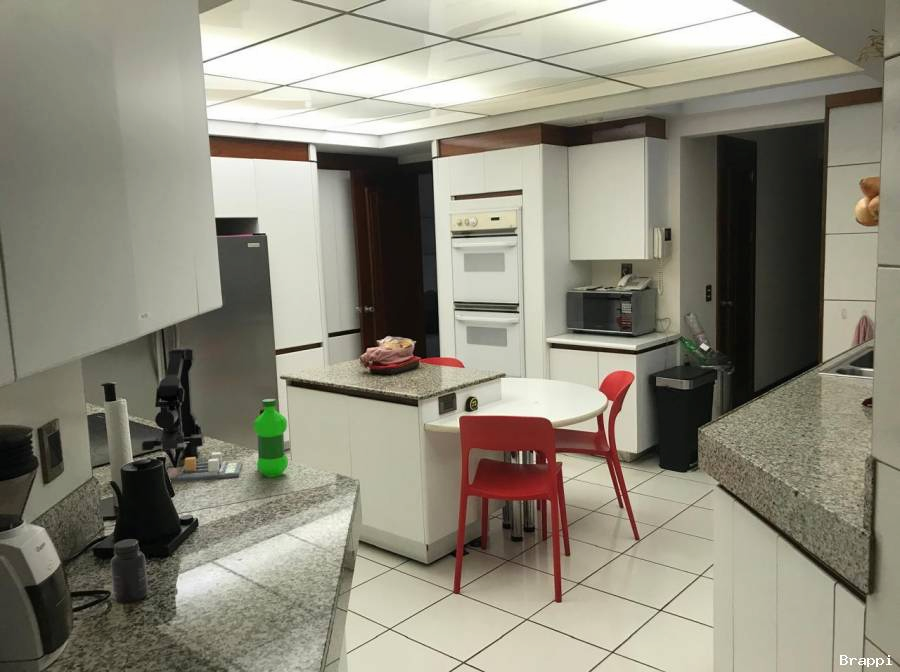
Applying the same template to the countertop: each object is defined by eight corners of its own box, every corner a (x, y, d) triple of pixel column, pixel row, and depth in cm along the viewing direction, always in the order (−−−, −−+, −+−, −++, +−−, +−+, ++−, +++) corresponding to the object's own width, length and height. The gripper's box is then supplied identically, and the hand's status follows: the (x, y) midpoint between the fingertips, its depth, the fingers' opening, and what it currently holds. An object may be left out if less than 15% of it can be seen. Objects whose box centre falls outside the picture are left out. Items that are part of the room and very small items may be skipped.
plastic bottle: (265, 481, 231) (260, 405, 228) (252, 474, 239) (248, 400, 236) (294, 475, 237) (290, 400, 234) (281, 468, 245) (277, 395, 242)
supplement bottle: (138, 586, 160) (134, 534, 158) (154, 594, 156) (150, 541, 154) (107, 598, 155) (102, 544, 153) (123, 607, 150) (118, 552, 149)
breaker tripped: (186, 469, 241) (186, 457, 240) (196, 469, 241) (195, 456, 241) (185, 472, 238) (184, 460, 238) (195, 471, 239) (194, 459, 238)
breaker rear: (213, 464, 246) (212, 452, 246) (222, 463, 247) (221, 451, 246) (212, 466, 243) (211, 454, 243) (221, 466, 244) (220, 454, 243)
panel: (169, 471, 244) (168, 465, 244) (242, 465, 249) (242, 459, 249) (161, 483, 232) (161, 476, 232) (238, 476, 237) (238, 470, 236)
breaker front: (209, 471, 238) (209, 459, 238) (219, 470, 239) (218, 458, 238) (208, 474, 236) (207, 461, 235) (218, 473, 236) (217, 460, 236)
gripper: (136, 429, 227) (139, 477, 229) (198, 425, 231) (201, 472, 232) (144, 421, 238) (147, 467, 240) (203, 417, 241) (206, 462, 243)
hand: (175, 467), depth 239 cm, fingers closed
